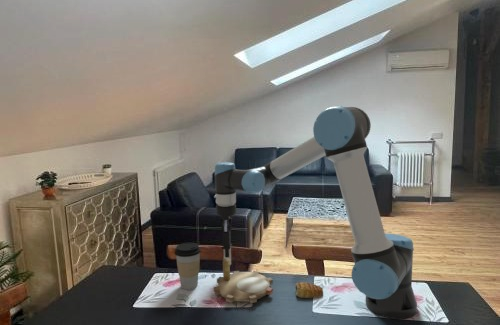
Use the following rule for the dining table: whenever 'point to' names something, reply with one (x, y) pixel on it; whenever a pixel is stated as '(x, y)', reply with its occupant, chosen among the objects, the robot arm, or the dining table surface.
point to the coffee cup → (188, 264)
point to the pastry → (308, 290)
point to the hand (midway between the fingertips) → (227, 264)
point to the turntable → (242, 285)
